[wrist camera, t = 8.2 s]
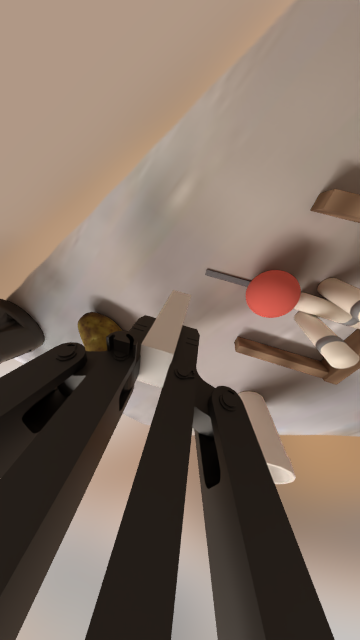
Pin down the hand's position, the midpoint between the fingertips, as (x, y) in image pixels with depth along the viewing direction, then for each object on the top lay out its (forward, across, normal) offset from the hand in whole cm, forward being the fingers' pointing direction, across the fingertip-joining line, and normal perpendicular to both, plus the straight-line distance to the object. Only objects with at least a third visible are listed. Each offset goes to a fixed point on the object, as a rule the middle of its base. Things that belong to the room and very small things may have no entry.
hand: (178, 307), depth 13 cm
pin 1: (+12, +18, +3) cm, 22 cm away
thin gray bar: (+12, +6, 0) cm, 13 cm away
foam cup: (+12, +21, -26) cm, 35 cm away
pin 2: (+12, +18, -2) cm, 22 cm away
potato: (+13, -13, -18) cm, 26 cm away
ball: (+9, +11, 0) cm, 14 cm away
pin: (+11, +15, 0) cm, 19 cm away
